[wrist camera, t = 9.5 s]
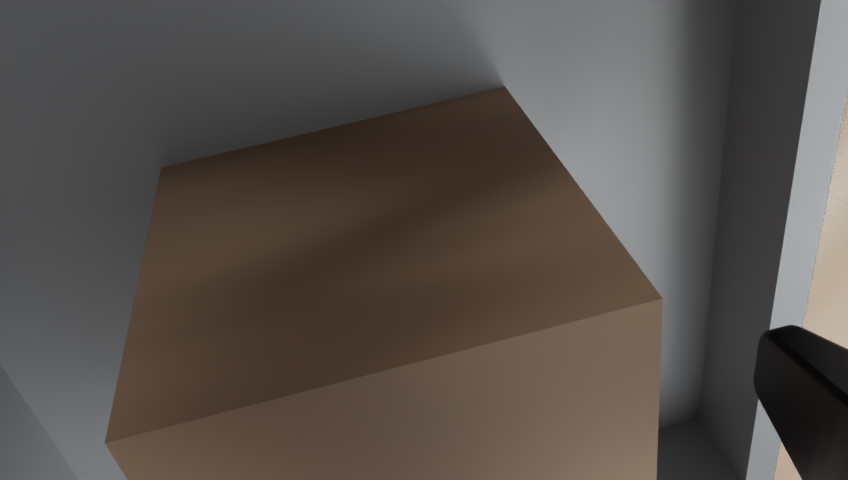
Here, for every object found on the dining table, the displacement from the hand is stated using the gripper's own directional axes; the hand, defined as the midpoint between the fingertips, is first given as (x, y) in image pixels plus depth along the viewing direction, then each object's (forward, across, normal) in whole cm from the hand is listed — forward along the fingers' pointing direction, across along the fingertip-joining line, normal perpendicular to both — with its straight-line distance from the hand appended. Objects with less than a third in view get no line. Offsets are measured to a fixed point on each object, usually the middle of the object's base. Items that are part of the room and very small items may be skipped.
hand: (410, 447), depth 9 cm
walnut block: (+4, 0, 0) cm, 4 cm away
